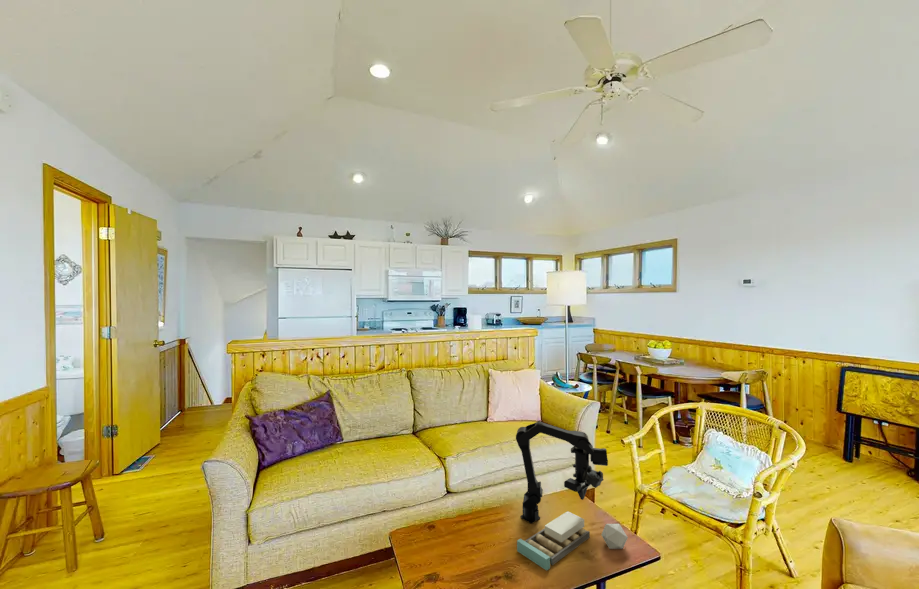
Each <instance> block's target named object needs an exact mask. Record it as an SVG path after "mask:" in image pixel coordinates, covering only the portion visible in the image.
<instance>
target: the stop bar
mask: <svg viewBox="0 0 919 589" xmlns="http://www.w3.org/2000/svg"><path fill="white" fill-rule="evenodd" d="M516 551H517V552H518V553H519V554H520V555H523V556H524V557H525V558H527V559H528V560H530V561H531V562H533V563H535V564H536V565H538V567H540V568H542V569H544V570H545V571H546V572H547V571H549V570H550V569H551V562H550V557H549V556H548V555H546V554H544V553H543V552H541V551H540V550H538V549H536V548H535V547H533V546H532V545H530V544H528V543H527V542H525V540H524V539H522V538H519V539H517V540H516Z"/></svg>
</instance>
